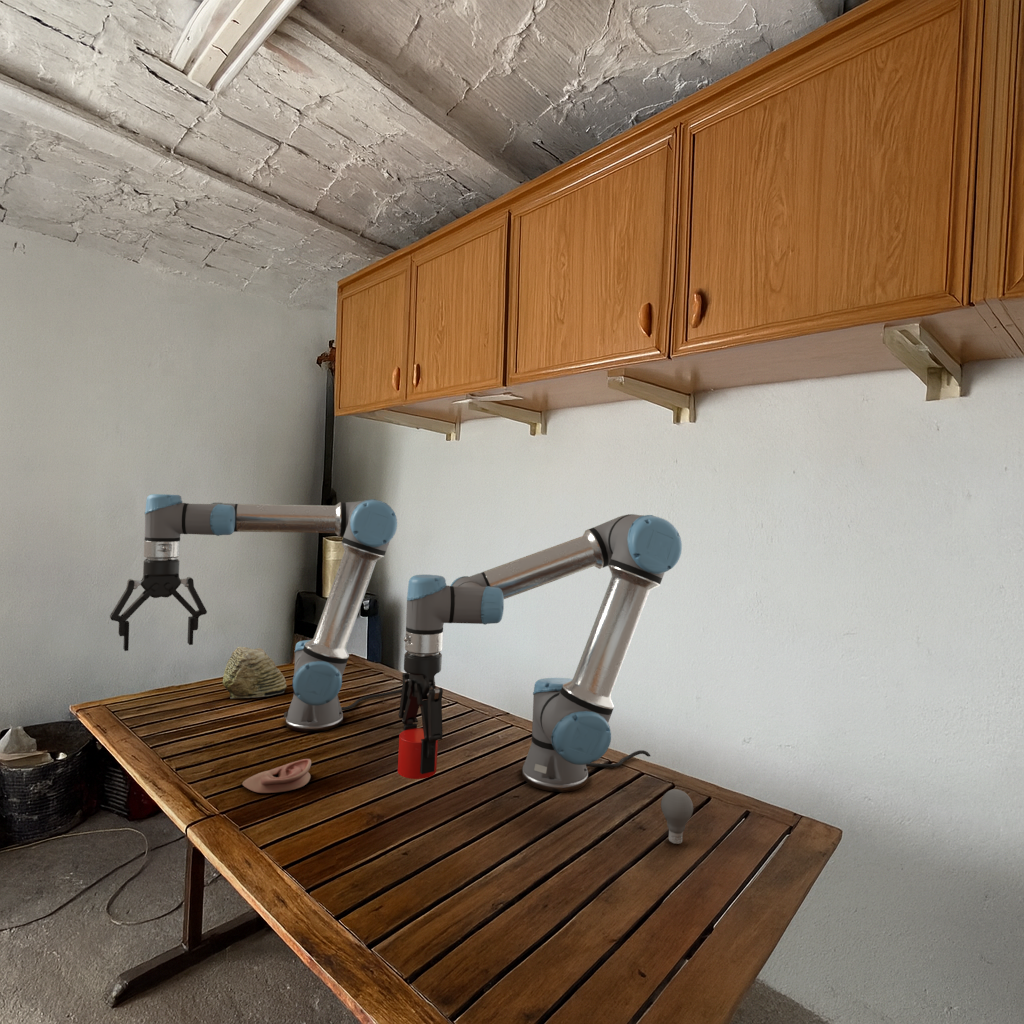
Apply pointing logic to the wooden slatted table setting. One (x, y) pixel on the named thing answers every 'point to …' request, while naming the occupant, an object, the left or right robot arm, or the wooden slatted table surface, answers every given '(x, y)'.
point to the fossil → (252, 674)
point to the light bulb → (676, 813)
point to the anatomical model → (280, 778)
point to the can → (412, 754)
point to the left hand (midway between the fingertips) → (158, 646)
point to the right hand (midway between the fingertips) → (417, 763)
